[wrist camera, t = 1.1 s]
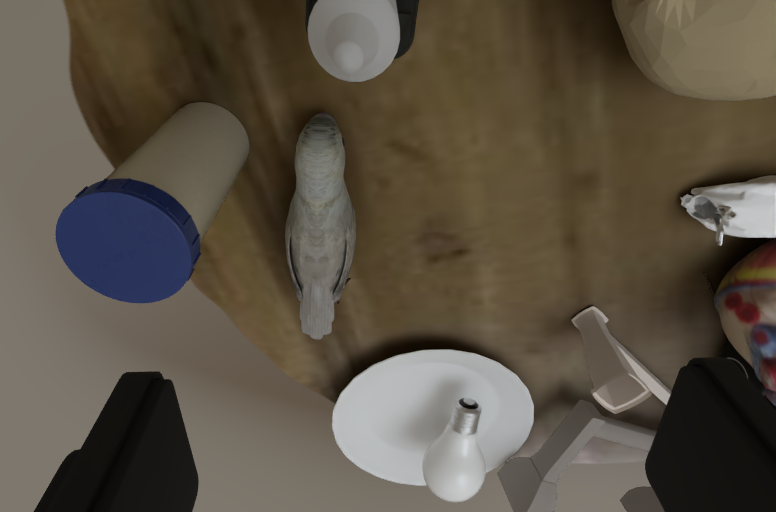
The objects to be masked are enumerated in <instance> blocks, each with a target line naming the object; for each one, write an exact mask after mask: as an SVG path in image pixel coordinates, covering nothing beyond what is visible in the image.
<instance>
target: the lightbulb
mask: <svg viewBox="0 0 776 512" xmlns="http://www.w3.org/2000/svg"><path fill="white" fill-rule="evenodd" d="M481 411H482V408H481V406H480V405H479V404H478V403H477V402H476V401H474V400H473V399H471V398H460V399H457V400H456V401H455V402H454V407H453V411H452V417H451V419H450V422H449V423H448V424H447V426H446V428H445V430H444V432H443V434H442V435H440V436H439V437H438V438H436V439H435V440H434V441H433V442H432V443H431V444H430V445H429V446H428V448H427V449H426V451H425V454H424V457H423V461H422V472H423V477H424V480H425V482H426V484H427V486H428V487H429V489H430V490H431V491H432V492H433V493H434V494H435V495H436V496H437V497H439V498H441V499H443V500H445V501H449V502H462V501H465V500H468V499H470V498H471V497H473V496H474V495H475V494H476V493H477V492H478V491H479V490H480V488H481V487H482V485H483V482H484V480H485V475H486V464H485V459H484V456H483V454H482V451H481V449H480V447H479V444H478V431H477V428H478V422H479V418H480V414H481Z"/></svg>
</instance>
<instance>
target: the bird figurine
mask: <svg viewBox="0 0 776 512" xmlns="http://www.w3.org/2000/svg"><path fill="white" fill-rule="evenodd" d="M691 193H692V194H694V196H693V197H692V195H691V196H690V195H688V194H687V195H685V196H684V197H683V198H682V197H680V198H681V200H682V203H681V205H682V206H683V207H685V208H687V210H686V211H687V212H688V213H689V214H690V215H691V216H692V217H693V218H695V219H697V220H698V221H700V222H701V223H702V224H703V225H704V226H705V227H707V228H708V229H710V230H713V231H716V238H715V239H716V242H718V245H720V246H721V245H722V241H723V234H724V235H730V236H736V237H746V238H776V176H773V175H771V176H763V177H759V178H756V179H751V180H748V181H747V182H742V183H731V184H723V185H716V186H709V187H701V188H694V189H692V190H691ZM718 240H719V241H718Z"/></svg>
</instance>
